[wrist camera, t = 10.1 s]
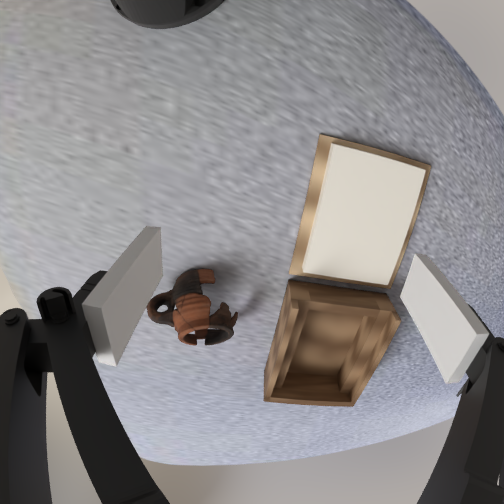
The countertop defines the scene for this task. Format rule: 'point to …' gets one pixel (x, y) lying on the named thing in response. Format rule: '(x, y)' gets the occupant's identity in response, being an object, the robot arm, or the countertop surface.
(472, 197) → the countertop surface
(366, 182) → the cover plate
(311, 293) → the walnut box
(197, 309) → the pottery mug
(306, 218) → the cork mat
